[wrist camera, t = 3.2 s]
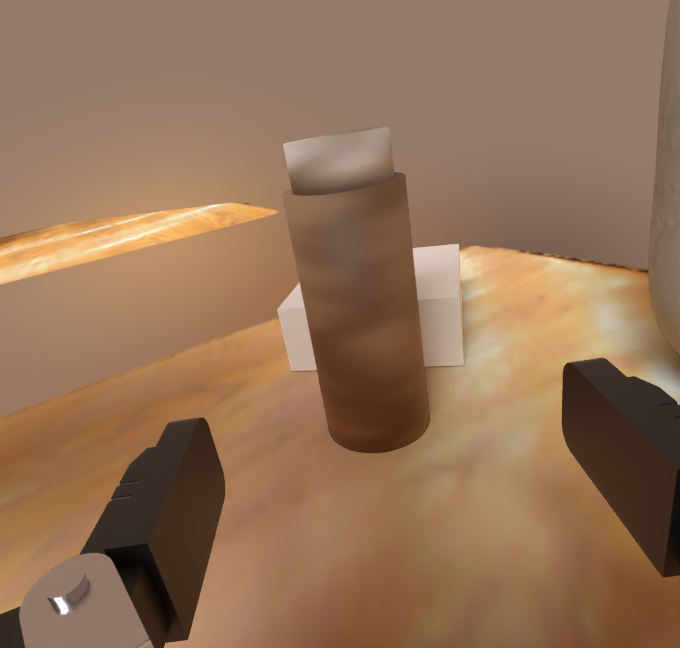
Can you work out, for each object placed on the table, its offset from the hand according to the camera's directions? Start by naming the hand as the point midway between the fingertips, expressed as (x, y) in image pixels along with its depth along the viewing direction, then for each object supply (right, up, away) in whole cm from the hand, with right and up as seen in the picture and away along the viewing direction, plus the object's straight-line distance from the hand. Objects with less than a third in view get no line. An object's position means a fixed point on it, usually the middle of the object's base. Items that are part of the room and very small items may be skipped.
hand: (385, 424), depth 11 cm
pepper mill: (+1, -2, +12) cm, 13 cm away
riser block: (+2, +2, +21) cm, 22 cm away
